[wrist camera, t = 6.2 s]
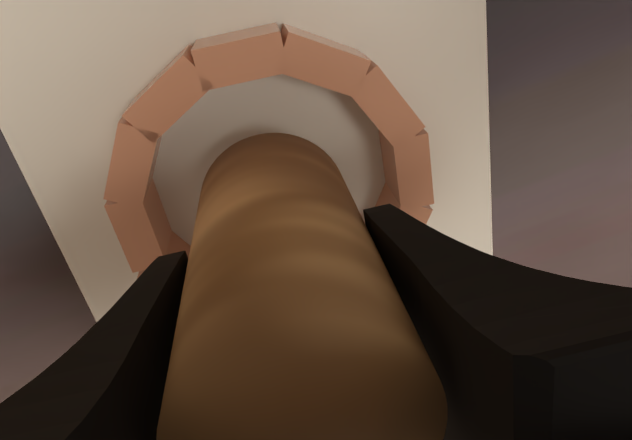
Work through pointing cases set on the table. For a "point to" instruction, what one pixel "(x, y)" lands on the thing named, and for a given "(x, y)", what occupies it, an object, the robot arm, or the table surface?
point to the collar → (242, 66)
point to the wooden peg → (292, 312)
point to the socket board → (232, 109)
